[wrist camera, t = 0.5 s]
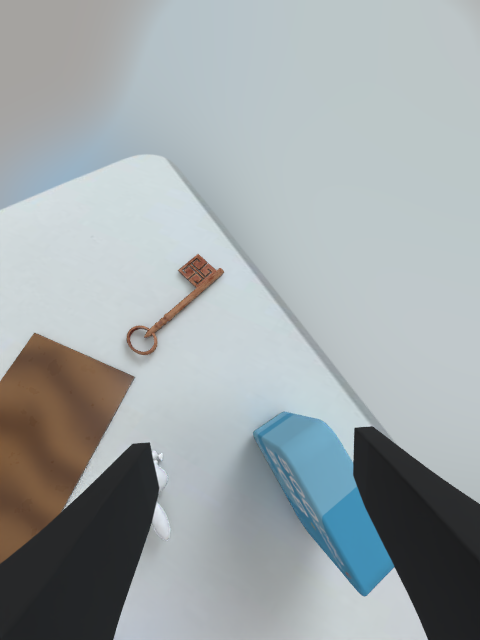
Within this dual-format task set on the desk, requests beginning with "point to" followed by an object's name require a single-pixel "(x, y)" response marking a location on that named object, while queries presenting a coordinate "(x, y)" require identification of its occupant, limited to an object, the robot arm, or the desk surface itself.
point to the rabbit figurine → (159, 516)
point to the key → (185, 301)
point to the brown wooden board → (49, 432)
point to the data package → (325, 495)
